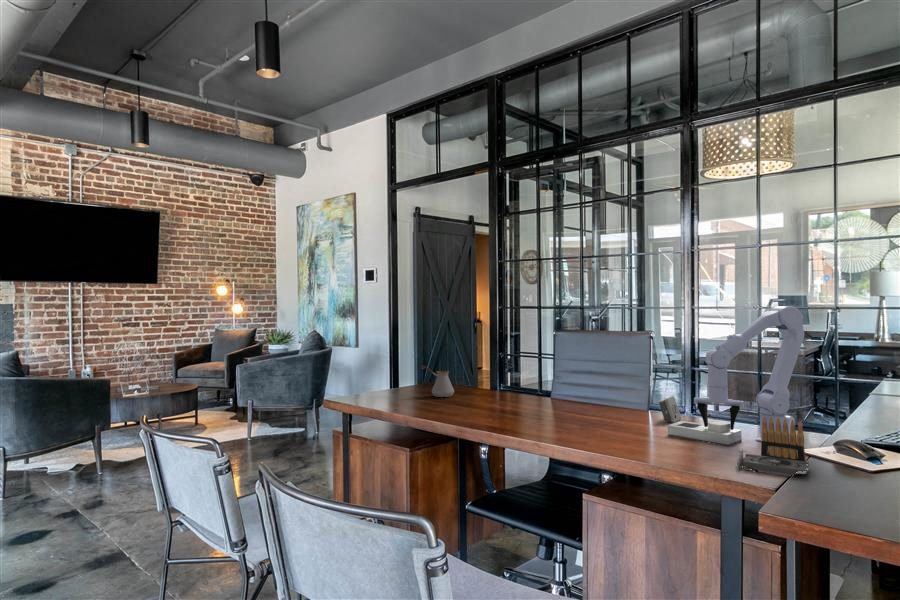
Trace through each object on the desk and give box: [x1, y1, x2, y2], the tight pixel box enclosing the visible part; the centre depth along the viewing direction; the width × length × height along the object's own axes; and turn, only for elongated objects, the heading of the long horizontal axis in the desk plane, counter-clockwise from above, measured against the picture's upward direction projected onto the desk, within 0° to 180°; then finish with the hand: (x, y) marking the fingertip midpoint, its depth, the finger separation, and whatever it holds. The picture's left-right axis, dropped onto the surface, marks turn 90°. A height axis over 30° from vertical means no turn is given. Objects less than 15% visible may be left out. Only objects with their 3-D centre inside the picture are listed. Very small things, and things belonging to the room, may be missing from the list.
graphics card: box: [735, 450, 809, 477], centre depth 145 cm, size 17×4×12 cm
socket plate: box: [667, 420, 743, 447], centre depth 181 cm, size 20×10×4 cm, turn 40°
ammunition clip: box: [760, 417, 806, 462], centre depth 154 cm, size 11×2×12 cm, turn 50°
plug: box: [708, 421, 730, 433], centre depth 177 cm, size 4×5×5 cm
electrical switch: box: [658, 395, 682, 424], centre depth 209 cm, size 9×5×9 cm, turn 141°
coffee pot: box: [421, 365, 455, 398], centre depth 276 cm, size 21×12×15 cm, turn 43°
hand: (718, 427), depth 177 cm, fingers open, 7 cm apart
